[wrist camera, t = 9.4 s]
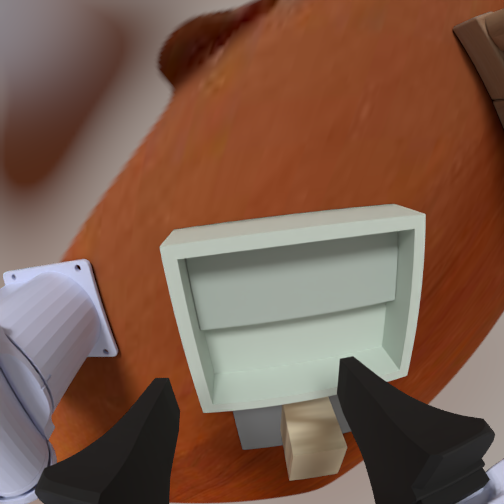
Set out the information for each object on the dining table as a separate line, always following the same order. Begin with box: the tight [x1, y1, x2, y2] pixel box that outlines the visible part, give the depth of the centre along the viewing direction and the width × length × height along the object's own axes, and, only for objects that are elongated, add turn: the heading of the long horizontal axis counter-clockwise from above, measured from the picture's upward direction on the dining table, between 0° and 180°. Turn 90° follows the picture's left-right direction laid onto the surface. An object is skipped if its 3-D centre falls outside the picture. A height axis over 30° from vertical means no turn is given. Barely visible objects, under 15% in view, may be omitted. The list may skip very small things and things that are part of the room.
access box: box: [160, 204, 426, 413], centre depth 19 cm, size 15×12×4 cm
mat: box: [233, 395, 351, 450], centre depth 24 cm, size 12×8×1 cm, turn 97°
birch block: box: [280, 397, 347, 481], centre depth 21 cm, size 4×4×6 cm
